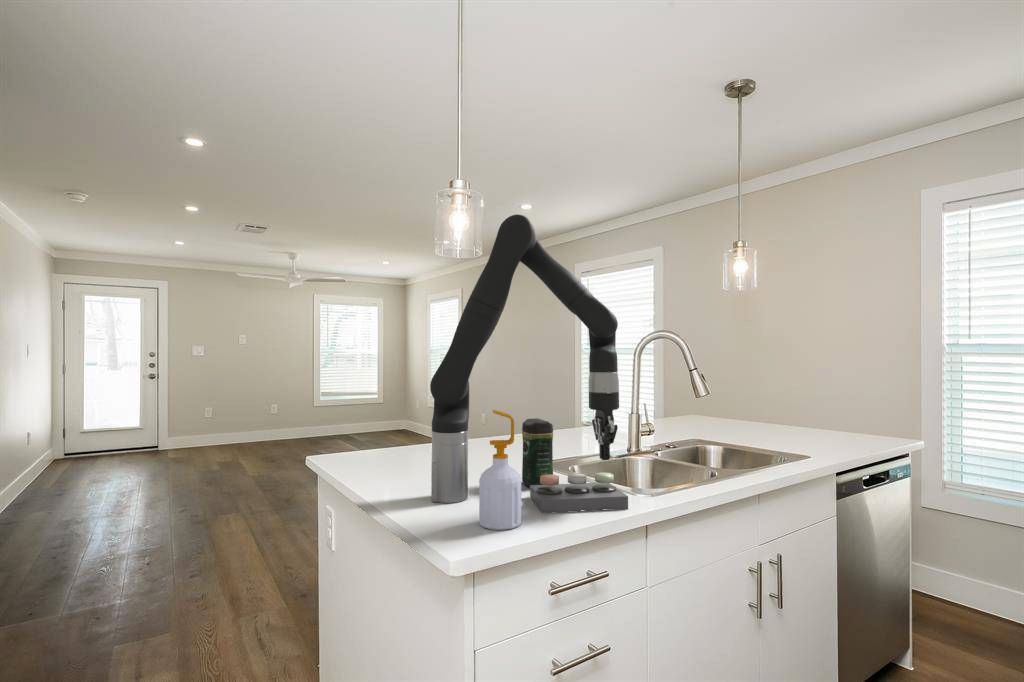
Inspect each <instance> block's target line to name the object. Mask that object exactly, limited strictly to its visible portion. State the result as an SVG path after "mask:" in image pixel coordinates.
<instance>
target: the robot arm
mask: <svg viewBox="0 0 1024 682" xmlns="http://www.w3.org/2000/svg"><path fill="white" fill-rule="evenodd" d="M535 230H536V229H535V227H534V225H533V223H532V221H531V220H530V219H529V218H528V217H527V216H525V215H522V214H513V215H509V216H508V217H507V218H505V219H504V220H503V221H502V223H501V224H500V226H499V227H498V231H497V234H496V237H495V241H494V243H493V246H492V249H491V252H490V254H489V258H488V259H487V262H486V265H485V267H484V268H483V270H482V272H481V274H480V275H479V277H478V279H477V282H476V284H474V285H475V286H474V287H473V290H472V292H470V293H471V294H470V295H469V298H468V299H467V302H466V305H465V307H464V309H463V311H462V314H461V315H460V319H459V322H458V323H457V327H456V329H455V332H454V335H453V338H452V341H451V344H450V346H449V348H448V350H447V352H446V353H445V356H444V358H442V361H441V363H440V364H439V366H438V368H437V370H436V371H435V373H434V374H433V376H432V378H431V380H430V384H429V388H430V394H431V396H432V397H433V398H432V399H433V415H432V419H431V475H430V477H431V486H430V487H431V492H430V493H431V497H430V498H431V502H432V503H435V502H436V503H445V504H446V503H447V504H449V503H450V504H452V503H460V502H463V501H466V500H467V499H469V496H468V495H469V479H468V478H469V418H470V382H469V380H470V376H471V374H472V371H473V368H474V366H475V363H476V361H477V359H478V357H479V355H480V353H481V352H482V350H483V349H484V347H485V346H486V345H487V343H488V342H489V340H490V338H491V337H492V335H493V333H494V331H495V330H496V327H497V325H498V324H499V321H500V318H501V316H502V314H503V311H504V309H505V307H506V303H507V301H508V297H509V293H510V290H511V286H512V281H513V278H514V275H515V271H516V270H517V268H518V266H519V263H522V264H523V266H525V267H527V268H528V269H529V270H530V271H531V272H533V273H534V275H536V276H537V277H538V279H540V280H541V282H542V283H544V284H545V286H546V287H547V288H548V289H549V290H550V292H551V293H552V294H553V295H554V296H555V297H556V298H557V299H558V300H559V301H560V302H561V303H562V305H563V306H565V307H566V308H567V310H569V312H571V313H572V314H574V315H575V316H576V317H578V319H579V320H580V321H581V322H582V323H583V325H585V327H586V328H587V329H588V339H589V340H588V341H589V355H588V358H589V359H588V361H589V364H588V367H589V368H588V369H589V374H588V375H589V376H588V408H589V409H590V410H595V414H594V419H592V420H591V423H592V424H591V425H592V427H593V432H594V437H595V440H596V441H597V443H598V445H599V447H598V448H599V452H598V453H599V459H600V460H601V461H609V460H610V459H611V456H610V454H611V447H610V445H612V444H614V442H615V439H616V436H617V431H618V429H619V427H618V424H615V418H614V413H613V411H616V410H619V409H620V381H619V375H618V374H619V373H618V372H619V371H618V354H617V351H616V346H617V345H616V343H617V342H616V336H617V335H616V332H617V329H618V325H619V323H618V319H617V317H616V315H615V314H614V313H613V312H612V311H611V309H609V307H607V306H606V305H605V304H603V303H602V302H601V301H600V300H599V299H598V298H596V297H595V296H594V295H593V294H592V293H591V291H590V290H589V289H588V288H587V287H586V286H585V285H584V284H583V283H582V281H580V279H578V277H576V276H575V275H574V274H573V273H572V272H571V271H570V270H568V269H567V268H565V266H564V265H562V264H560V263H559V262H558V261H557V260H556V259H554V257H552V256H551V254H550V253H548V251H547V250H546V249H545V248H544V246H543V245H542V244H541V242H540V241H539V239H538V238H537V237H536V231H535Z"/></svg>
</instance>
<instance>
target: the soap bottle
mask: <svg viewBox="0 0 1024 682" xmlns="http://www.w3.org/2000/svg"><path fill="white" fill-rule="evenodd" d="M492 413H493V414H495V415H499V416H500V417H501V416H502V417H505V418H507V419H509V420H510V436H509V439H494V440H493V439H492V440H489V445H491V446H493V448H494V449H496V453H495V454H494V453H493V454H492V465H490V467H488V468H487V469H485V470H484V471H483V472H482V473H481V474H480V477H479V479H478V480H479V482H478V483H479V485H478V486H479V491H478V492H479V495H478V496H479V499H478V501H479V502H478V503H479V505H478V507H479V512H478V513H479V514H478V515H479V517H478V518H479V521H478V522H479V524H480V526H481V527H483V528H485V529H488V530H493V531H506V530H507V529H508V530H512V529H515V528H517V527H519V526H520V525H521V522H522V476H521V474H520V473H519V472H518V471H517V470H516V469H515V468H513V467H512V466H510V465H509V455H508V454H506V453H505V449H507V447H508V446H510V445H512V444H514V441H515V420H514V419H513V417H512V415H510V414H509V413H506V412H502V411H500V410H496V409H493V410H492Z"/></svg>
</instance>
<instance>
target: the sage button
mask: <svg viewBox="0 0 1024 682" xmlns="http://www.w3.org/2000/svg"><path fill="white" fill-rule="evenodd" d="M614 479H615V478H614V474H613V473H611V472H597V473H596V472H595V473H594V481H595V483H610V484H612V483H614Z"/></svg>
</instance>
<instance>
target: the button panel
mask: <svg viewBox="0 0 1024 682" xmlns="http://www.w3.org/2000/svg"><path fill="white" fill-rule="evenodd" d="M529 497H530V499H531V500H532V502H533V503H534V504H535V506H536V508H537V509H538V510H539V512H540V513H541V514H551V513H552V512H558V513H569V512H568V511H578V512H582V511H581V510H598V511H604V510H603V509H619V510H628V509H629V496H628V495H627V494H626V493H624V492H623V491H621V490H620V489H618V488H617V487H616V486H615V485H613V484H612V483H598V482H586V483H585V484H571V483H559V484H558V485H551V486H549V485H530V487H529ZM552 514H553V513H552Z"/></svg>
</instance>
